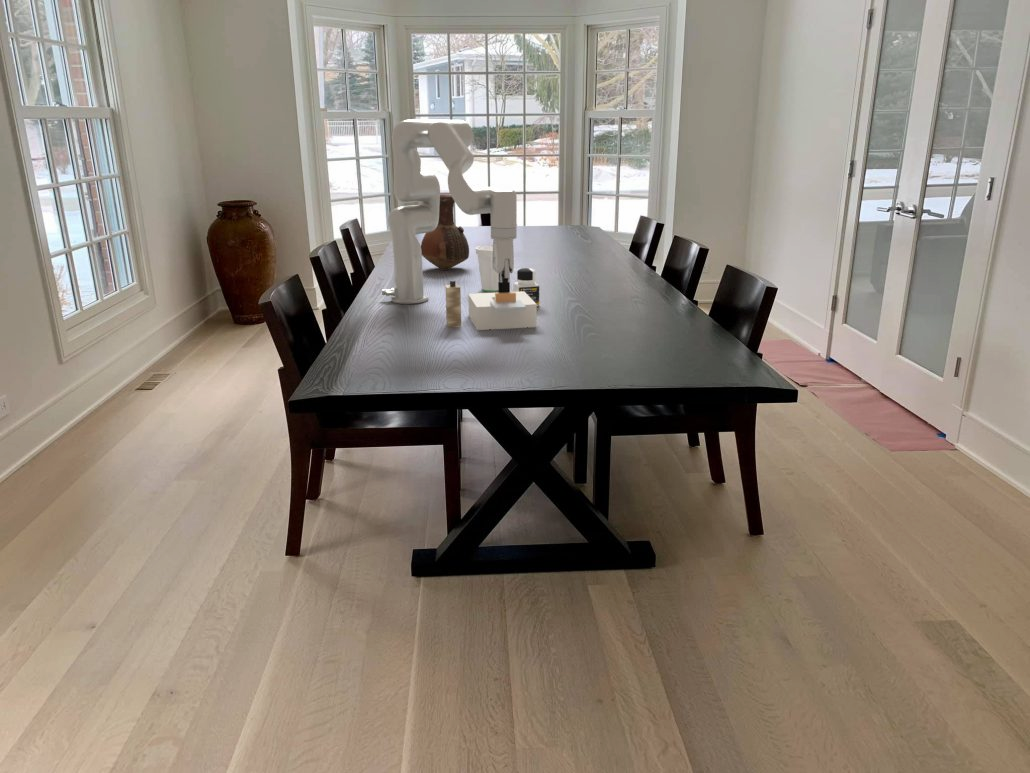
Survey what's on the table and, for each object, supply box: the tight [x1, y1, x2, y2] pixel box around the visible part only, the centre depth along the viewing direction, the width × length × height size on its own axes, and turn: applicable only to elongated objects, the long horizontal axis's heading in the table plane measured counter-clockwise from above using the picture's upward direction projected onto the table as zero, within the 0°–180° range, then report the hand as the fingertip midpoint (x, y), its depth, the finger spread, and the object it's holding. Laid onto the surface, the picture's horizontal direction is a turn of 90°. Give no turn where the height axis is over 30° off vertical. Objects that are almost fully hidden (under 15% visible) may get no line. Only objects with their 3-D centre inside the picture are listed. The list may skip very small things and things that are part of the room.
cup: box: [475, 244, 500, 293], centre depth 272 cm, size 12×12×15 cm
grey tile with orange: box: [490, 291, 526, 311], centre depth 219 cm, size 9×9×3 cm
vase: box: [420, 194, 470, 271], centre depth 306 cm, size 25×20×30 cm
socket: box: [467, 291, 538, 331], centre depth 231 cm, size 18×18×7 cm
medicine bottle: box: [512, 267, 540, 306], centre depth 250 cm, size 7×7×12 cm
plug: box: [445, 280, 462, 328], centre depth 225 cm, size 4×4×14 cm
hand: (504, 294), depth 225 cm, fingers closed
